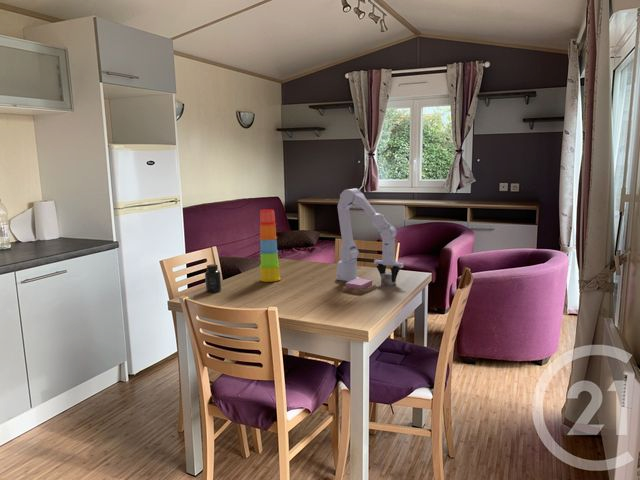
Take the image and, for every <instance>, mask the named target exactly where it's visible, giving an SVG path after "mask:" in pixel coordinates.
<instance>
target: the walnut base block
mask: <svg viewBox="0 0 640 480" xmlns="http://www.w3.org/2000/svg"><path fill="white" fill-rule="evenodd" d="M376 288H377V287H376V284H373V283H372V285H370V286H368V287H366V288H364V289H362V290H360V289H353V288H347V287H346V285H344V286H342V287H341V289H342V292H343V293H344V292H345V293H350V294H356V295H364V294H366V293H369V292H371V291H372V290H376Z"/></svg>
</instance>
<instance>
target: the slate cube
mask: <svg viewBox="0 0 640 480" xmlns="http://www.w3.org/2000/svg"><path fill="white" fill-rule="evenodd" d="M396 284H397V280H396V281H395V282H392V273H391V271H390V272H389V271H385V273H382V274H381V276H380V285H384V286H390V287H392V286H393V285H396Z"/></svg>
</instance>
